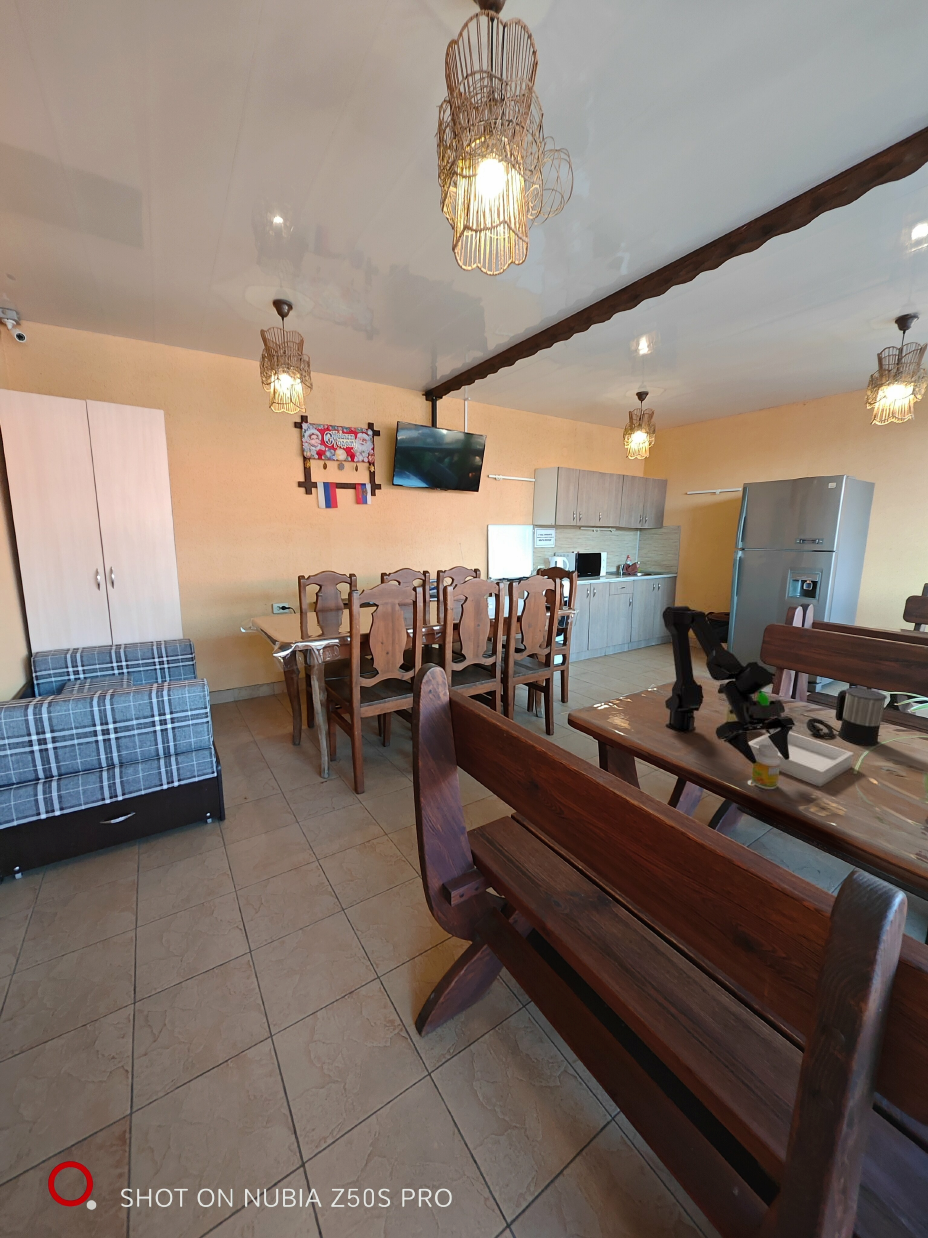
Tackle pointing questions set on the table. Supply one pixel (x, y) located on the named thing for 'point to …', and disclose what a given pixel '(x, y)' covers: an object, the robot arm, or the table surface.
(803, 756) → the box
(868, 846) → the table surface
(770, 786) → the supplement bottle
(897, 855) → the table surface
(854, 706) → the milk frother
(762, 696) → the ornament
